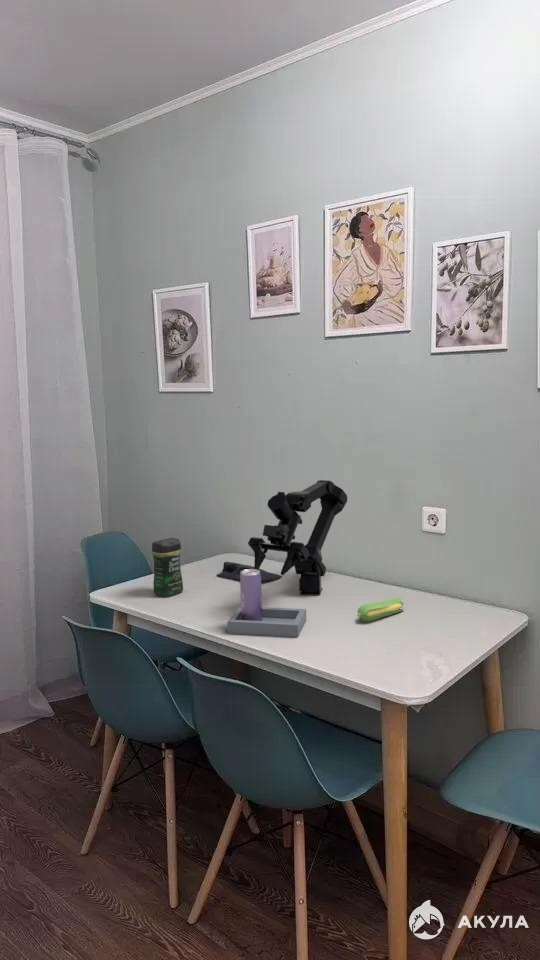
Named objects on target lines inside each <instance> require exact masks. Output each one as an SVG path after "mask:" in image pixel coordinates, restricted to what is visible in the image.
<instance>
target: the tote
mask: <svg viewBox="0 0 540 960" xmlns="http://www.w3.org/2000/svg"><path fill="white" fill-rule="evenodd" d="M231 615H232V616H230V618H229V619H228V620H227V622H226V623H227V634H231V635H248V636H249V635H250V636H252V635H253V636H265V637H266V636H268V637H285V638H287V637H289V638H299V636H300V634H301V633H302V631H303V628H304V627H305V624H306V623H307V609H306V608H292V607H291V608H289V607H269V606H268V607H267V606H262V618H263V620H262V621H249V620H242V612H241V605H239V607H238V608H237V609H235V611H234V613H233V614H231Z"/></svg>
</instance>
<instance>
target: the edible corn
mask: <svg viewBox="0 0 540 960" xmlns="http://www.w3.org/2000/svg"><path fill="white" fill-rule="evenodd" d="M404 599H405V596H398V597H394V598H390V599H386V600H385V599H384V600H379V601H375V602H368V603H364V604H362V605H360V607H358V608H357V615H356V616H357V618H358V619H359V620H360V621H362V622H365V623H370V622H373V620H374V621H376V619H377V620H380V619H383V618H386V617H389V616H392V615H391V614H393V615H396V614H399V613H402V612H401V611H403V609H400V608H402V607H403V606H404V602H403V600H404ZM399 609H400V610H399ZM398 612H399V613H398ZM395 613H396V614H395ZM385 616H386V617H385ZM382 617H383V618H382ZM379 618H380V619H379ZM369 621H370V622H369Z"/></svg>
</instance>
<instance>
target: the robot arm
mask: <svg viewBox="0 0 540 960" xmlns="http://www.w3.org/2000/svg"><path fill="white" fill-rule="evenodd" d="M318 499H319V500H320V508H321V510H320V512H319V516H318V518H317V519H316V522H315V524H314V527H313V529H312V532H311V534H310V536H309V539H308V541H307V543H306V544H304V543H303V542H298V541H297V542H296V541H295V539H296V536H295V532H296V530H297V528H298V525H302V524H303V519H302V517H301V516H302V515H300V514H299V513H306V512H307V511H308V510H309V509H311V507H312V503H313V502H315V501H317V500H318ZM347 502H348V495H347V494H346V492H345V490H344V489H342V488H341V487H339V486H338V485H336V484H335V483H334V482H333V481H331V480H325V479H320V480H317V481H316V482H315V483H314V484H312V485H310V486H308V487H306V488H305V489H303V490H300V491H290V492H288V493H285V492H284V491H277V494H275V495H273V496H272V497H270V498H269V499H268V500H267V508H268V509H269V510H270V511H271V513H272V514H273V515H274V517H275V518H276V519H277V520H279V521H278V524H277V525H269V524H264V526H263V532H262V536H263V537H267V541H268V542H266V541H265V540H264V539H263V537H258V536H257V537H256V536H252V537H250V538H249V540H248V543H247V545H248V546H249V547H250V549H251V550H252V551H253V554H254V565H253V567H254V569H256V570H258V569H261V568H260V567H261V565H262V564H263V563H264V561H265V559H266V557H267V555H266V554H267V553H268V551H277V552H283V553H286V558H285V561H284V563H283V565H282V567H281V571H280V575H281V576H284V575H286V573H288V572H289V571H290V570H291V569H292V568H294V570H295V574H296V575H300V577H299V579H298V586H299V589H298V590H299V595H302V596H303V595H305V596H306V595H307V596H320V595H321V593H322V592H323V587H322V577H325V575H326V571H327V567H326V566H325V564H324V563H323V557H322V552H321V551H322V548H323V546H324V543H325V541H326V539H327V536H328V533H329V531H330V530H331V526H332V524H333V522H334V520H335V516H336V515H338V514H339V513H341V512H343V509H344V508H345V506H346V504H347ZM292 540H294V541H292ZM269 542H270V543H269Z"/></svg>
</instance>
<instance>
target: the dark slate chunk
mask: <svg viewBox="0 0 540 960" xmlns="http://www.w3.org/2000/svg"><path fill="white" fill-rule="evenodd" d="M247 569H254V565H253V566H252V565H250V564H249V565H248V564H243V563H238V562H230V561H224V562H223V568H222V571H221V572H220V573H217V574H216V577H219V578H224V579H227V580H231V579H232V581H238V580H239V582H240V574H241V571H243V570H247ZM258 570H259V571H260V574H261V584H262V583H265V582H271V581H277V580H281V577H282V578H283V575H281V574H278V573H275V572H274V573H273V572H269V571H267V570H264V569H261V568H259V569H258Z"/></svg>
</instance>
